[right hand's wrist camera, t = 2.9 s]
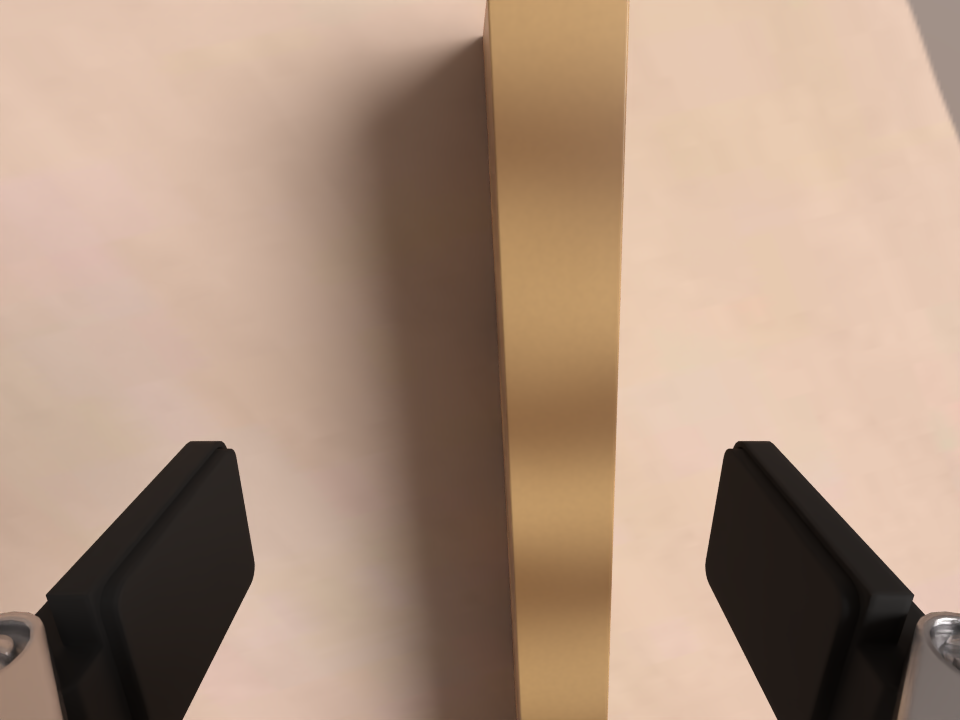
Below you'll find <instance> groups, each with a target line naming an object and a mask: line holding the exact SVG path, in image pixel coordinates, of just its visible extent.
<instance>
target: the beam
mask: <svg viewBox="0 0 960 720" xmlns="http://www.w3.org/2000/svg"><path fill="white" fill-rule="evenodd" d="M628 27H629V0H487V1H486V11H485V20H484V29H483V54H484V74H485V94H486V115H487V135H488V155H489V175H490V196H491V216H492V236H493V256H494V277H495V297H496V317H497V337H498V358H499V378H500V398H501V419H502V439H503V459H504V479H505V500H506V520H507V540H508V560H509V581H510V601H511V621H512V641H513V662H514V682H515V702H516V720H607V718H608V685H609V653H610V620H611V587H612V554H613V521H614V488H615V455H616V422H617V389H618V356H619V323H620V290H621V257H622V225H623V192H624V159H625V126H626V93H627V60H628Z"/></svg>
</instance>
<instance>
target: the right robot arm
mask: <svg viewBox="0 0 960 720" xmlns="http://www.w3.org/2000/svg"><path fill="white" fill-rule="evenodd" d="M254 569H255V564H254V557H253V551H252V545H251V539H250V534H249V528H248V522H247V516H246V511H245V505H244V499H243V493H242V487H241V482H240V476H239V470H238V464H237V459H236V454H235V452H234V450H233V449H227V448H226V446H225V444H224V443H223V442H222V441H190V442H189V443H187V444H186V445H185V446H184V447H183V448H182V449H181V451H180V452H179V453H178V454H177V455H176V456H175V457H174V458H173V459H172V460H171V461H170V462H169V463H168V465H167V466H166V467H165V468H164V469H163V470H162V471H161V472H160V473H159V474H158V475H157V476H156V477H155V478H154V480H153V481H152V482H151V483H150V484H149V485H148V486H147V487H146V488H145V489H144V490H143V491H142V492H141V493H140V495H139V496H138V497H137V498H136V499H135V500H134V501H133V502H132V503H131V504H130V505H129V506H128V507H127V508H126V510H125V511H124V512H123V513H122V514H121V515H120V516H119V517H118V518H117V519H116V520H115V521H114V522H113V524H112V525H111V526H110V527H109V528H108V529H107V530H106V531H105V532H104V533H103V534H102V535H101V536H100V537H99V539H98V540H97V541H96V542H95V543H94V544H93V545H92V546H91V547H90V548H89V549H88V550H87V551H86V552H85V554H84V555H83V556H82V557H81V558H80V559H79V560H78V561H77V562H76V563H75V564H74V565H73V566H72V567H71V569H70V570H69V571H68V572H67V573H66V574H65V575H64V576H63V577H62V578H61V579H60V580H59V581H58V583H57V584H56V585H55V586H54V587H53V588H52V589H51V590H50V591H49V592H48V593H47V594H46V597H47V600H48V601H47V602H46V603H45V605H44V606H43V607H42V608H41V609H40V610H39V611H38V612H37V613H36V614H35V615H33V614H31V613H27V612H8V613H2V614H0V720H183V718H184V716H185V714H186V712H187V710H188V708H189V706H190V704H191V702H192V700H193V698H194V696H195V694H196V692H197V690H198V688H199V686H200V684H201V682H202V680H203V678H204V676H205V674H206V672H207V670H208V668H209V666H210V664H211V662H212V660H213V658H214V656H215V654H216V652H217V650H218V648H219V646H220V644H221V642H222V640H223V638H224V636H225V634H226V632H227V630H228V628H229V626H230V624H231V622H232V620H233V618H234V616H235V614H236V612H237V610H238V609H239V607H240V605H241V603H242V601H243V599H244V597H245V595H246V593H247V591H248V589H249V587H250V585H251V582H252V580H253V576H254ZM705 569H706V576H707V580H708V582H709V585H710V587H711V589H712V591H713V593H714V595H715V597H716V599H717V601H718V603H719V605H720V607H721V609H722V610H723V612H724V614H725V616H726V618H727V620H728V622H729V624H730V626H731V628H732V630H733V632H734V634H735V636H736V638H737V640H738V642H739V644H740V646H741V648H742V650H743V652H744V654H745V656H746V658H747V660H748V662H749V664H750V666H751V668H752V670H753V672H754V674H755V676H756V678H757V680H758V682H759V684H760V686H761V688H762V690H763V692H764V694H765V696H766V698H767V700H768V702H769V704H770V706H771V708H772V710H773V712H774V714H775V716H776V718H777V720H960V614H958V613H952V612H933V613H929V614H927V615H925V614H924V613H923V612H922V611H921V610H920V609H919V608H918V607H917V606H916V605H915V603H914V602H913V601H912V600H913V597H914V594H913V593H912V592H911V591H910V590H909V589H908V588H907V587H906V586H905V585H904V584H903V583H902V581H901V580H900V579H899V578H898V577H897V576H896V575H895V574H894V573H893V572H892V571H891V570H890V569H889V567H888V566H887V565H886V564H885V563H884V562H883V561H882V560H881V559H880V558H879V557H878V556H877V555H876V554H875V552H874V551H873V550H872V549H871V548H870V547H869V546H868V545H867V544H866V543H865V542H864V541H863V540H862V539H861V537H860V536H859V535H858V534H857V533H856V532H855V531H854V530H853V529H852V528H851V527H850V526H849V525H848V524H847V522H846V521H845V520H844V519H843V518H842V517H841V516H840V515H839V514H838V513H837V512H836V511H835V510H834V508H833V507H832V506H831V505H830V504H829V503H828V502H827V501H826V500H825V499H824V498H823V497H822V496H821V495H820V493H819V492H818V491H817V490H816V489H815V488H814V487H813V486H812V485H811V484H810V483H809V482H808V481H807V480H806V478H805V477H804V476H803V475H802V474H801V473H800V472H799V471H798V470H797V469H796V468H795V467H794V466H793V465H792V463H791V462H790V461H789V460H788V459H787V458H786V457H785V456H784V455H783V454H782V453H781V452H780V451H779V449H778V448H777V447H776V446H775V445H774V444H773V443H771V442H770V441H738V442H737V443H736V444H735V446H734V448H733V449H727V450H726V452H725V454H724V459H723V464H722V470H721V476H720V482H719V487H718V493H717V499H716V505H715V511H714V516H713V522H712V528H711V534H710V539H709V545H708V551H707V557H706V564H705Z"/></svg>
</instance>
